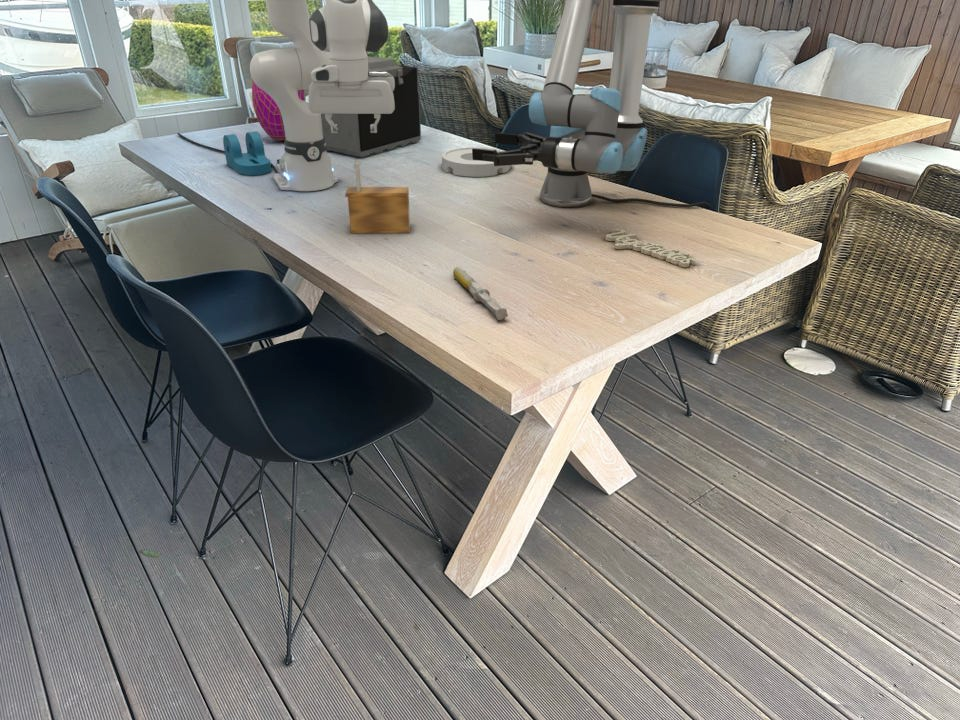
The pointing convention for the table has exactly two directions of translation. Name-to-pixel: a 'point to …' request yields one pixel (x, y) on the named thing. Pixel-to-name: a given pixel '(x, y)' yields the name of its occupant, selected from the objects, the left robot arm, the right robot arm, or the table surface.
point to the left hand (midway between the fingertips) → (354, 132)
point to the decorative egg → (269, 112)
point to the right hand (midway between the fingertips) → (484, 145)
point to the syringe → (479, 293)
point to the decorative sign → (649, 248)
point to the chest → (379, 214)
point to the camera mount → (246, 154)
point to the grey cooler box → (390, 127)
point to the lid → (372, 188)
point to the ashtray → (470, 163)
